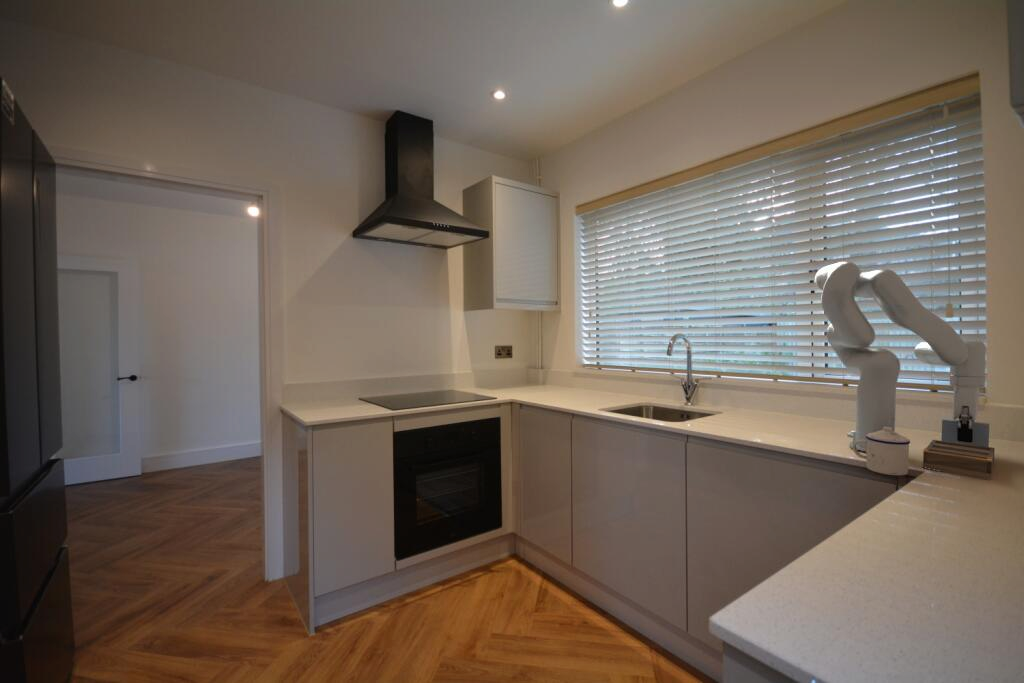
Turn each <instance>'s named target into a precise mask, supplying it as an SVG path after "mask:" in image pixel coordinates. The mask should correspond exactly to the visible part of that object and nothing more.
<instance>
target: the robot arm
mask: <svg viewBox="0 0 1024 683" xmlns="http://www.w3.org/2000/svg"><path fill="white" fill-rule="evenodd" d="M814 276H815V277H814V282H815V285H816V287H817V288H818V289H819V290H822V292H821V300H820V301H821V307H822V310H823V312H824V314H825V316H826V317H827V319H828V321H829V322H830V324H828V326H827V328H826V338H827V341H828V343H829V344H830V346H831V348H832V349H833V351H834V353H835V354H836V356H837V357H838V359H839V360H840V362H842V365H843V367H845V369H846V370H848V371H849V372H850V373H852V374H853V375H856V376H858V377H859V379H858V380H859V381H858V383H857V387H856V411H855V412H856V414H855V416H856V417H855V418H856V419H855V430H851V431H850V432H847V433H846V436H847V437H848V438H851V439H852V441H851V442H849V448H850V449H852V448H853V443H854V442H855V441H857V440H866V441H867V438H866V436H867V434H869V433H875V432H877V431H880V430H883V427H891V428H893V431H894V432H896V405H897V404H896V403H897V402H896V400H897V399H896V397H897V386H898V385H897V384H898V380H899V376H900V372H901V362H900V359H899V357H898V356H897V355H896V354H895V352H892V351H891V350H889V349H885V348H880V347H871V345H872V344H873V343H874V341H875V340H876V331H875V329H874V327H873V326H872V324H871V323H870V322H869V320H868V318H867V317H866V316H865V314H864V313H863V312H862V310H861V308H860V306H859V305H858V303H857V300H856V299H855V298H863V299H870V298H872V299H873V300H874V301H875V302H876V303H877V305H878V306H879V308H880V309H881V311H883V312H884V314H885V315H886V316H887V317H888V319H889V320H890V322H892V323H894V325H897V326H898V327H901V328H903V329H905V330H907V331H910V332H912V333H914V334H915V335H917V336H919V337H920V339H922V340H923V341H921V342H919V343H918V344H917V345H916V346H915V347H914V351H913V354H914V356H915V357H916V359H917V360H919V361H920V362H922V363H924V364H928V365H934V366H935V365H936V366H944V367H949V387H953V396H952V397H953V398H952V420H959V423H958V427H957V440H958V441H961V442H969V443H972V442H973V429H971V428H972V422H976V420H977V418H978V413H979V412H978V411H979V403H980V400H979V399H980V389H985V388H986V351H987V350H986V344H985V343H984V341H982V340H967V339H966V340H963V339H962V337H961V336H960V335H959V333H958V332H957V331H956V330H955V329H954V328H953V327H952V326H951V325H950V324H949V323H948V322H947V321H945V320H944V319H942V318H941V317H939V316H938V315H937V314H935V313H934V312H933V311H931V310H930V309H928V308H926V307H925V306H924V305H923V304H922V303H921V302H920V300H919V299H918V298H917V297H916V296H915V295H914V293H913V292H912V290H910V288H909V287H908V285H907V284H906V283H905V282H904V281H903V279H902V278H901V276H899V275H898V274H897V272H895V271H894V270H892V269H887V268H881V269H880V268H879V269H874V270H871V271H865V270H864V271H863V270H861V269H860V267H859V266H858V265H857V264H856V263H854V262H852V261H839V262H837V263H833V264H829V265H826V266H823V267H822V268H820V269H819V270H818V271H817V272H816V274H815V275H814ZM856 449H857V451H858V450H861V451H860V452H862V451H866V452H865V453H867V443H857V444H856Z"/></svg>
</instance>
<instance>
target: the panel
mask: <svg viewBox="0 0 1024 683" xmlns="http://www.w3.org/2000/svg"><path fill="white" fill-rule="evenodd" d="M941 419H942V420H941V440H940V441H947V442H954V443H962V444H969V445H977V446H984V447H990V446H989V445H990V423H989V422H988V423H986V422H977V421H974V422H972V428H971V429H973V442H972V443H969V442H961V441H958V440H957V427H958V423H959V419H956V420H954V419H949V418H941Z"/></svg>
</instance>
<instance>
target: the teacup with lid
mask: <svg viewBox="0 0 1024 683" xmlns="http://www.w3.org/2000/svg"><path fill="white" fill-rule="evenodd" d="M866 438H867V441H866V440H857V441H855V442H854V443H853V449H852V450H853V452H854V454H855V455H856V456H857V457H859V458H861V459H864V460H866V463H865V464H866V468H867V469H868V470H869V471H871V472H874V473H878V474H882V475H887V476H899V477H900V476H906V475H908V473H909V455H910V454H909V452H910V451H909V450H910V449H909V448H910V444H911V440H910V439H909V438H908V437H907V436H903V435H901V434H900V433H898V432H896V431H895V432H894V431H893V428H891V427H883V430H880V431H877V432H875V433H869V434H867V436H866ZM857 443H867V452H866V455H863V454H861V453H859V451H858V450H857V449H856V444H857Z"/></svg>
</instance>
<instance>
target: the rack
mask: <svg viewBox="0 0 1024 683" xmlns="http://www.w3.org/2000/svg"><path fill="white" fill-rule="evenodd" d="M995 450H996V449H995V447H990V446H989V447H984V446H977V445H969V444H962V443H954V442H947V441H941V440H939V439H932V440H931V442H930V443H929V444H928V445H927V446H926V447H925V448H924V450H923V458H922V459H923V460H922V468H923V467H926V468H930V469H935V470H934V471H936V470H940V471H939V472H942V471H945V472H944V473H948V472H950V473H949V474H953V473H955V475H959V476H960V475H961V476H965V477H972V478H978V479H984V480H990V481H991V480H992V477H993V471H994V465H995ZM930 469H929V470H930Z"/></svg>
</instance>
